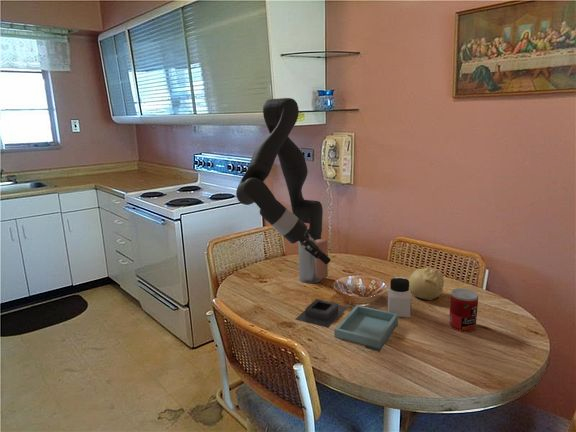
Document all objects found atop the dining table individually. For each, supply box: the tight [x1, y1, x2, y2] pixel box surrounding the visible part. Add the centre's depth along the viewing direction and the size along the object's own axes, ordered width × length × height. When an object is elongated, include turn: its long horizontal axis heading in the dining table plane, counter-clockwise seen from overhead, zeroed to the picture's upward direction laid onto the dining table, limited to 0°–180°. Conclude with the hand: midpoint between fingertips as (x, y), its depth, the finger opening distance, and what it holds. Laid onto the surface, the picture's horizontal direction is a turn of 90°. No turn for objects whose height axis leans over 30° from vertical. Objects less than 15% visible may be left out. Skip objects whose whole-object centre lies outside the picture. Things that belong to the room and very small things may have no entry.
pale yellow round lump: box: [408, 266, 445, 301], centre depth 149 cm, size 12×12×11 cm
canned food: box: [448, 288, 479, 332], centre depth 128 cm, size 8×8×11 cm
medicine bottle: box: [387, 276, 412, 318], centre depth 137 cm, size 7×7×12 cm
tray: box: [333, 304, 399, 353], centre depth 127 cm, size 18×14×4 cm
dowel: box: [315, 238, 329, 279], centre depth 133 cm, size 4×4×12 cm
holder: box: [294, 298, 348, 329], centre depth 138 cm, size 16×12×4 cm
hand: (327, 259), depth 134 cm, fingers closed on dowel, 4 cm apart
